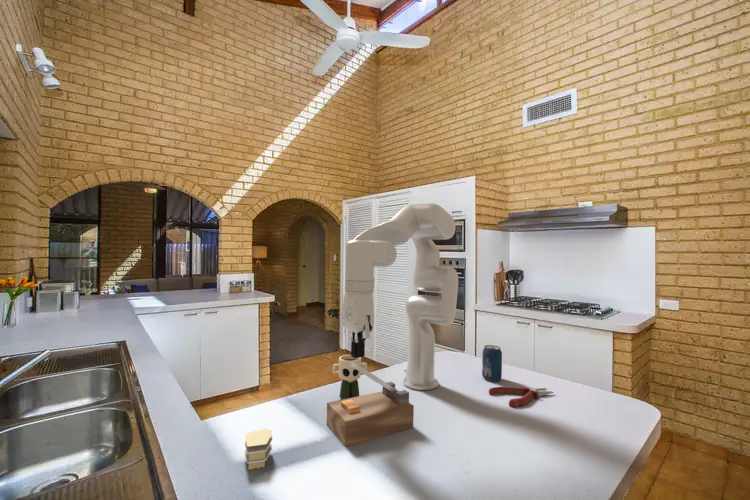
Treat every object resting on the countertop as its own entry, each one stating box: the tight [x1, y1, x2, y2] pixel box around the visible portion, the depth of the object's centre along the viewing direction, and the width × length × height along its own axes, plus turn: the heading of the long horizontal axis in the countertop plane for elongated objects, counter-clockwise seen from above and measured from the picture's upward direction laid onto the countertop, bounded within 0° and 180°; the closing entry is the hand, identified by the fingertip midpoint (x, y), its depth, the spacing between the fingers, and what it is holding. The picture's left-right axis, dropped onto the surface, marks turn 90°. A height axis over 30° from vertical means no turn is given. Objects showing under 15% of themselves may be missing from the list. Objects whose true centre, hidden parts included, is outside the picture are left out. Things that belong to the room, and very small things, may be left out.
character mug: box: [332, 354, 368, 400], centre depth 116 cm, size 11×7×13 cm, turn 100°
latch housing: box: [326, 381, 415, 447], centre depth 98 cm, size 12×20×9 cm, turn 119°
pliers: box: [488, 386, 554, 408], centre depth 120 cm, size 12×21×3 cm, turn 110°
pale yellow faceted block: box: [244, 428, 273, 470], centre depth 81 cm, size 10×9×6 cm
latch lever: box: [350, 361, 399, 394], centre depth 98 cm, size 5×17×1 cm
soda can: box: [481, 344, 503, 383], centre depth 136 cm, size 7×7×12 cm
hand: (357, 356), depth 96 cm, fingers closed
